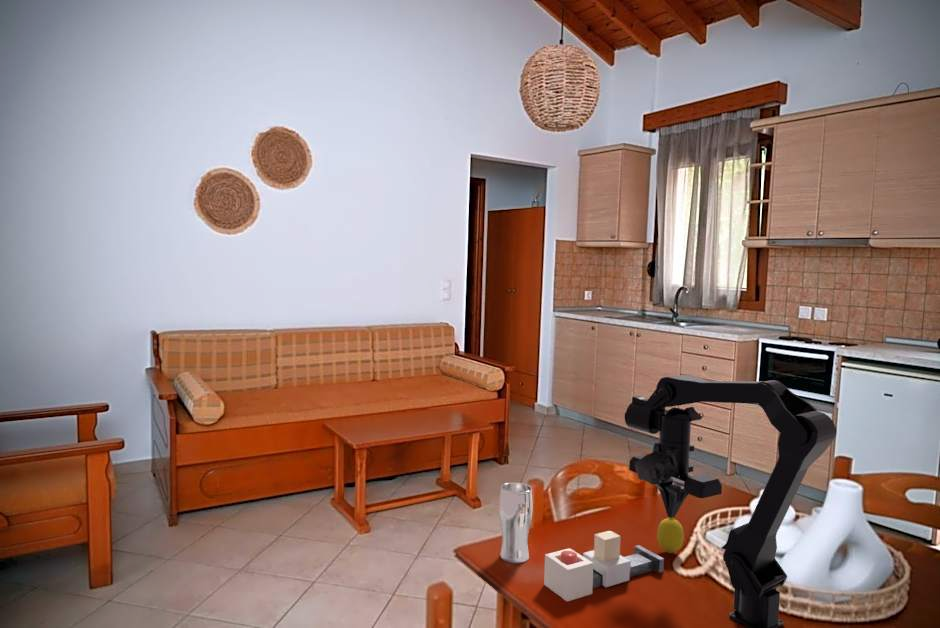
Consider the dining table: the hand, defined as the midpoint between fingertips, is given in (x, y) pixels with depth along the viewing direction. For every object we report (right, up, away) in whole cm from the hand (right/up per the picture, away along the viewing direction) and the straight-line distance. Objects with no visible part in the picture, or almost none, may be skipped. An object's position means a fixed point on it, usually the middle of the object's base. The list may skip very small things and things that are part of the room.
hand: (671, 517), depth 122 cm
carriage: (-13, -12, +1) cm, 18 cm away
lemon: (+4, -12, +12) cm, 18 cm away
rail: (-10, -12, +2) cm, 16 cm away
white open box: (-21, -12, -4) cm, 25 cm away
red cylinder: (-21, -11, -4) cm, 24 cm away
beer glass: (-30, -12, +9) cm, 34 cm away
